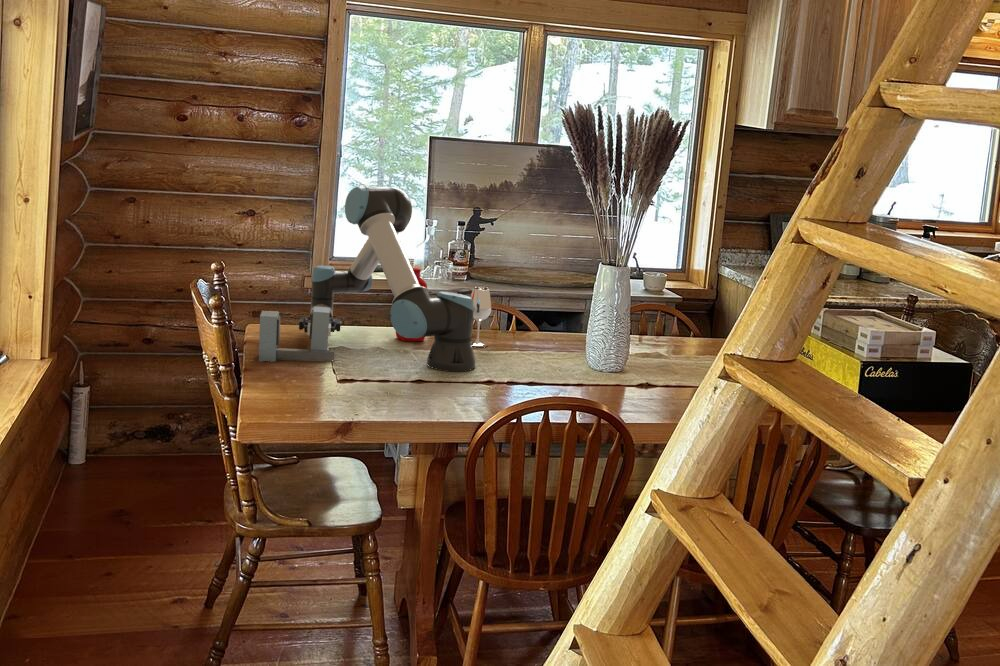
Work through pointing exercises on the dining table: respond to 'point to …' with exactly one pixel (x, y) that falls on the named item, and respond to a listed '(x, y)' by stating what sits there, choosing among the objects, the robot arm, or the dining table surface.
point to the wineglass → (480, 308)
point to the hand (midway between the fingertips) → (319, 331)
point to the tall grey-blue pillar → (319, 328)
